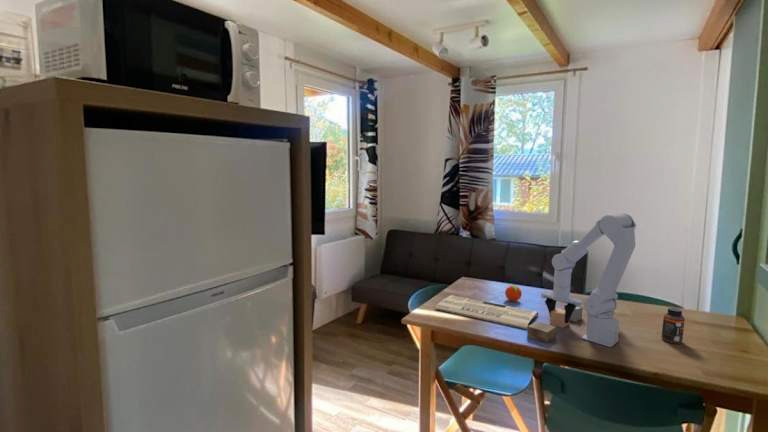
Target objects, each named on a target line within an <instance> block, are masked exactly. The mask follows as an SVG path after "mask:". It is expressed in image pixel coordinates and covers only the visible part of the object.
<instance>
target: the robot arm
mask: <svg viewBox="0 0 768 432" xmlns="http://www.w3.org/2000/svg"><path fill="white" fill-rule="evenodd" d="M636 228H637V224H636V222H635V220H634V219H633V217H632V216H631V215H629V214H627V213H620V214H606V215H603V216H602V217H601V218H600V219H598V220H597V221H596V222H595V224H594V226H592V227H591V229H589V230H588V232H587V233H586V234H585V235H584V236H582V238H581V239H580V240H574V241H570V242H569V243H568V246H567V247H566V248H564V249H562V250H561V251H560V252H561V253H557V254H554V256H553V257H552V259H551V264H552V267H553V268H554V275H553V292H551V293H550V292H545V291H543V292H541V293H540V294H541V295H540V298H541V299H545V300H544V303H545V305H546V307H547V310H548V313H549V316H550V315H551V311H552V310H554V309H556V305H557V302H560V303H562V304H563V303H564V304H565V305H564V306H565V323H568V322H569V323H570V321H571V320H570V317H571V315H572V313H573V311H574V309H575V308H576V306H577V307H581V306H583V307H584V310H585V312H586V314H587V320H586V333H585V334H584V335H583V336H581V339H582V340H584V341H585V340H586V341H589V342H592V343H595V344H598V345H602V346H605V347H607V348H608V347H609V348H612V347H613V346H614V345H615V344H617V342H618V341H619V331H620V321H619V319H618V318H617V317H614V316H613V317H612V311H615V310H616V309H617V306H618V302H617V300H618V297H619V295H618V294H617V288H618V287H619V285H620V283H621V280H622V277H623V275H624V273H625V272H626V268H627V266H628V264H629V261H630V259H631V257H632V255H633V253H634V250H635V247H636V232H635V230H636ZM604 235H605V236H606V237H607V239H609V241H610V242H612V244H613V246H614V247H613V249H612V251H611V254H610V257H609V258H608V261H607V263H606V266H605V268H604V270H603V272H604V273H602V275H601V277H600V280H599V282H598V285H597V287H596V288H595V289H593V290H592V291H591V292H590V295H589V296H588V297H586V298H585V299H584V302H583V300H579V299H577V298H573V297H571V296H570V294H571V284H572V283H571V281H572V280H571V279H572V273H573V269H574V268H575V266H576V262H578V261H579V260H580V259H581V258H582V257H584V256H585V255H586V254H588V248H589V247H590V246H591V245H592V244H594V243H595V242H597V241H598V240H599V239H600V238H602V237H603V236H604ZM615 291H616V292H615ZM567 304H568V305H567Z"/></svg>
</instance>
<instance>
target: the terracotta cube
mask: <svg viewBox="0 0 768 432" xmlns="http://www.w3.org/2000/svg"><path fill="white" fill-rule="evenodd" d="M549 320H550V321H549V325H552V326H555V327H559V328H562V329H563V328H566V326H568V325H570V324H569V323H570V321H569V322H568V323H565V310H564V309H562V308H557V307H555V309H554V310H552V311H551V315H550V314H549Z"/></svg>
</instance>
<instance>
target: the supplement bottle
mask: <svg viewBox="0 0 768 432" xmlns="http://www.w3.org/2000/svg"><path fill="white" fill-rule="evenodd" d="M682 314H683V310H682V309H681V308H677V307H672V306H671V307H667V312H666V313H664V315H663V321H662V329H661V330H662V331H661V339H662V340H663V341H665V342H667V343H671V344H675V343H679V344H681V343H683V340H684V339H683V338H684V330H685V320H686V319H685V317H684V316H683V315H682Z"/></svg>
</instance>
